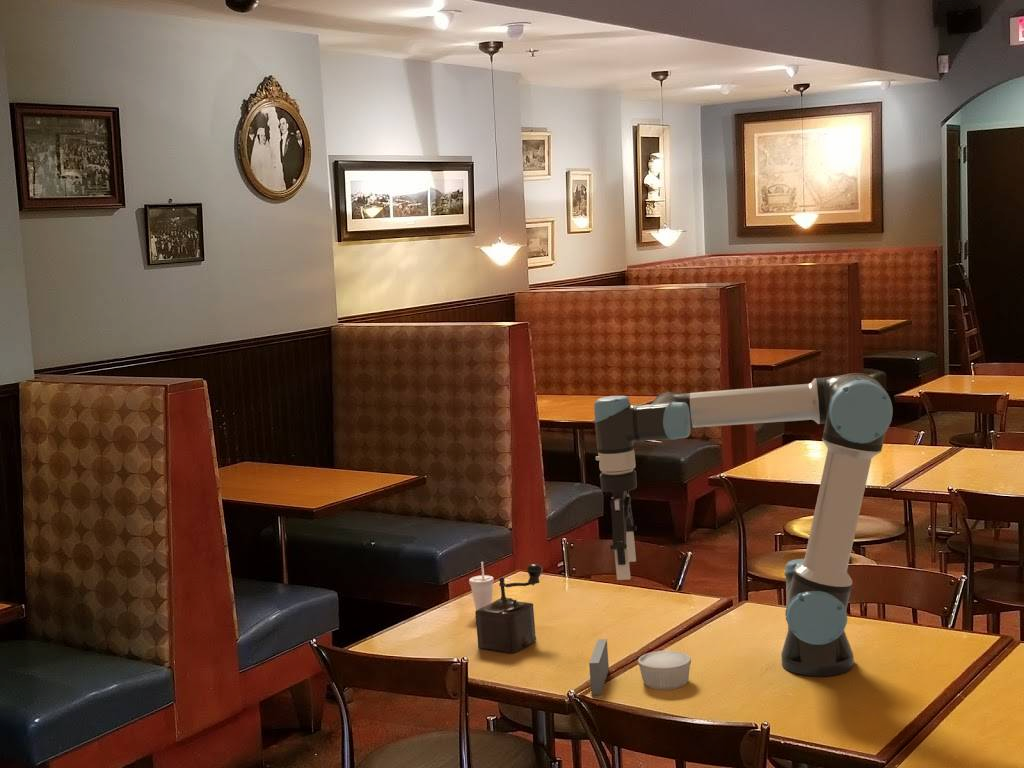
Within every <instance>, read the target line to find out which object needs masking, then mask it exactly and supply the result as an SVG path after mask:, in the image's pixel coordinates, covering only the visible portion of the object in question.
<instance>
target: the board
mask: <svg viewBox="0 0 1024 768" xmlns="http://www.w3.org/2000/svg"><path fill="white" fill-rule="evenodd" d="M588 665H589V679H590V680H589V681H590V692H591V693H590V694H591V696H602V693H603V689H604V686H605V684H604V683H606V681H605V680H606V679H607V677H608V674H609V671H610V668H609V665H610V664H609V653H608V639H606V638H598V639H597V641H596V643H595V647H594V649H593V652H592V654H591V657H590V660H589V662H588Z"/></svg>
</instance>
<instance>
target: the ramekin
mask: <svg viewBox="0 0 1024 768" xmlns="http://www.w3.org/2000/svg"><path fill="white" fill-rule="evenodd" d="M691 663H692V659H691V656H690V655H688V654H687V653H685V652H682V651H677V650H657V651H651V652H648V653H644V654H643V655H641V656H640V657H638V659H637V665H638V667H639V670H640V673H641V678H642V681H643V683H644V685H646V686H647V687H649V688H650V689H654V690H660V691H661V690H663V691H664V690H665V691H666V690H667V691H668V690H675V689H678V688H681V687H684V686H685V685H686V684H687V683H688V681H689V679H690V669H691Z"/></svg>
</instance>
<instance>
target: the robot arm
mask: <svg viewBox="0 0 1024 768" xmlns="http://www.w3.org/2000/svg"><path fill="white" fill-rule="evenodd" d="M892 403H893V402H892V400H891V398H890V395H889V393H888V392H887V391H886V390H885V388H884V386H883V385H882V384H881V382H879V380H877V379H876V378H875V377H873V376H872V375H870V374H866V373H862V372H858V373H857V372H852V373H845V374H841V375H833V376H828V377H827V376H826V377H817V378H816V377H815V378H813V379H812V381H811V382H810V383H803V384H789V385H788V384H787V385H776V386H762V387H750V388H736V389H724V390H713V391H711V390H710V391H699V392H690V393H685V392H684V393H675V392H665V393H664V392H663V393H661V394H659V395H657V396H656V397H655V398H654V399H653V400H652V401H651V403H650V404H632V403H631V402H630V397H628V396H627V395H609V396H604V397H599V398H598V399H596V400H595V402H594V404H593V408H594V420H593V421H594V428H595V437H596V445H597V446H596V447H597V455H598V456H597V455H596V456H595V460H596V461H597V462H598V461H599V463H598V465H599V467H598V468H599V470H600V472H601V473H600V474H599V479H600V488H601V491H603V492H605V493H612V497H611V498H610V500H609V505H610V509H611V511H610V512H611V513H610V515H611V525H612V526H611V530H612V531H611V532H612V533H611V534H612V545H611V544H610V545H609V548H610V550H613V552H614V562H615V572H616V580H617V581H623V580H624V581H625V580H631V568H630V563H633V562H636V561H637V557H636V556H637V555H636V545H635V533H634V531H637V525H636V524H635V523H634V522H635V521H634V518H633V512H632V504H631V503H632V502H631V501H632V499H631V496H630V491H633V490H635V489H636V488H637V486H638V481H637V479H638V478H637V471H636V470H635V469H636V455H635V449H634V442H641V441H642V442H644V441H647V442H648V441H663V440H664V441H665V440H669V441H670V440H671V441H675V440H680V439H686V438H688V437H689V436H690V435H691V429H694V428H706V427H722V426H735V425H736V426H738V425H751V424H752V425H753V424H765V423H767V424H768V423H777V422H778V423H780V422H781V423H782V422H797V421H809V420H812V421H814V422H815V423H816V424H817V425H821V424H823V425H824V428H823V434H822V437H821V440H822V442H823V443H824V445H825V446H826V448H827V452H826V457H825V461H824V466H823V471H822V475H821V480H820V483H819V489H818V494H817V499H816V503H815V508H814V511H813V512H814V513H813V517H812V522H811V526H810V531H809V536H808V541H807V546H806V551H805V555H804V558H798V559H792V560H790V561H788V562H787V563H786V564H785V571H784V577H785V590H786V592H785V593H786V596H785V597H786V602H785V603H786V604H785V605H786V608H785V621H786V623H787V627H788V628H787V633H786V636H785V640H784V644H783V647H782V650H781V654H780V655H781V666H782V667H783V669H785V670H787V671H788V672H791V673H792V674H796V675H802V676H809V677H810V676H811V677H828V676H829V677H830V676H836V675H841V674H844V673H847V672H850V671H851V670H852V669H853V668H854V665H855V659H854V658H855V657H854V652H853V649H852V646H851V644H850V641H849V639H848V636H847V633H846V632H845V629H846V627H847V624H848V612H847V609H848V605H849V601H850V600H849V599H850V595H851V591H852V587H853V586H852V585H853V579H852V578H851V577H850V575H849V573H848V568H849V563H850V559H851V555H852V549H853V544H854V540H855V535H856V531H857V528H858V527H857V526H858V521H859V517H860V513H861V508H862V505H863V499H864V494H865V492H866V491H865V490H866V485H867V480H868V477H869V471H870V467H871V463H872V462H871V461H872V459H873V458H874V457H876V456H877V455H879V454H880V453H882V450H883V445H884V442H885V441H884V440H885V437H886V432H887V430H888V429H889V428H890V425H891V423H892V418H893V413H894V412H893V411H894V410H893V409H894V408H893V404H892Z"/></svg>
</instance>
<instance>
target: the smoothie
mask: <svg viewBox="0 0 1024 768" xmlns="http://www.w3.org/2000/svg"><path fill="white" fill-rule="evenodd" d="M480 564H481V567H480V568H481V575H476V576H472V577H471V578H469V582H468V583H469V585H470V588H471V592H472V598H473V602H474V607H475V611H476V610H478V609H480V608H482V607H485V606H487V605H489V604H491V603H493V585H494V584H493V583H494V582H495V580H494V576H491V575H488V574H487V575H486V574H485V569H484V561H481V562H480Z"/></svg>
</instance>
